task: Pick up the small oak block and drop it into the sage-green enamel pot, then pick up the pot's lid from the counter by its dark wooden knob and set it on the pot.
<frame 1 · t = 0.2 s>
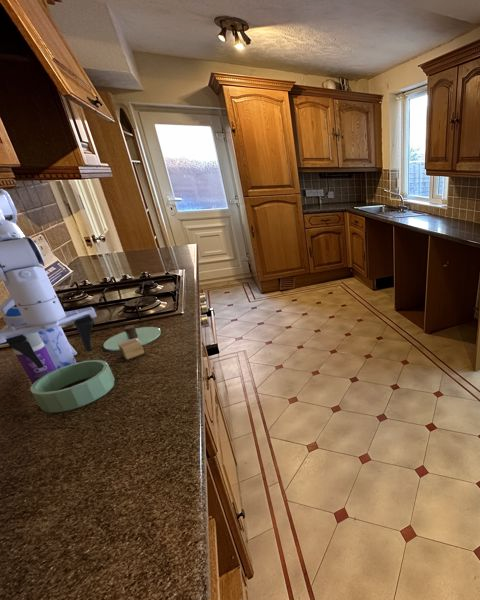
hand: (65, 357, 70), 10 cm above the worktop, tool pointing down, fingers open, 7 cm apart
aerosol can: (58, 371, 83), on the worktop
lid: (133, 338, 96), point 1 cm above the worktop
container: (50, 386, 77), on the worktop
block: (134, 355, 89), on the worktop
pot: (79, 393, 74), on the worktop
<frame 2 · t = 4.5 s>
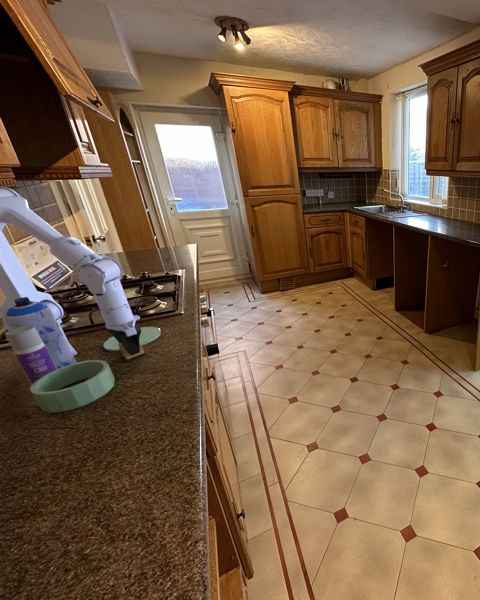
hand: (132, 351, 88), 1 cm above the worktop, tool pointing down, fingers closed on block, 4 cm apart
aerosol can: (58, 370, 83), on the worktop, touching arm
block: (133, 355, 89), on the worktop, touching gripper
everything else where it was.
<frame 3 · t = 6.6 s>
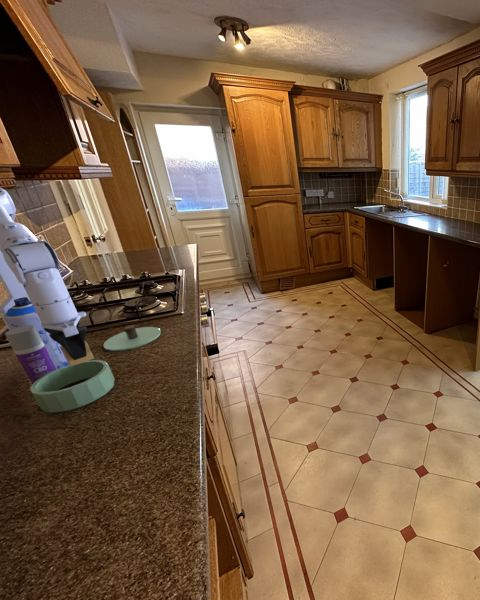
hand: (77, 354, 74), 8 cm above the worktop, tool pointing down, fingers closed on block, 4 cm apart
aerosol can: (58, 371, 83), on the worktop
block: (80, 359, 74), point 7 cm above the worktop, touching gripper
everything else where it was.
when the fingers open (2 cm above the worktop, at t = 9.0 s): block stays where it is, resting on pot.
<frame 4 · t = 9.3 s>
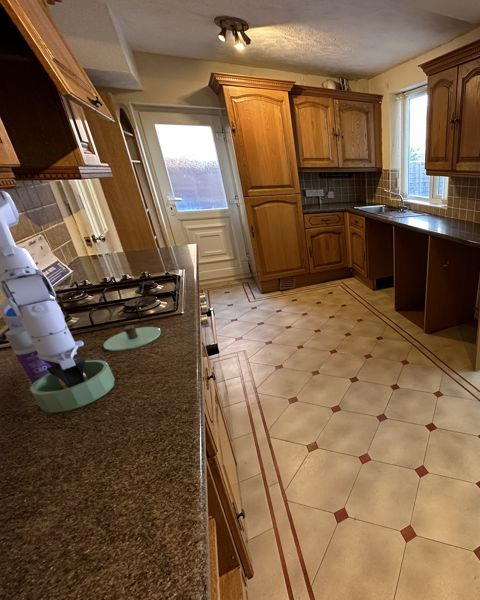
hand: (75, 383, 73), 3 cm above the worktop, tool pointing down, fingers open, 6 cm apart
block: (79, 391, 74), resting on pot
everything else where it was.
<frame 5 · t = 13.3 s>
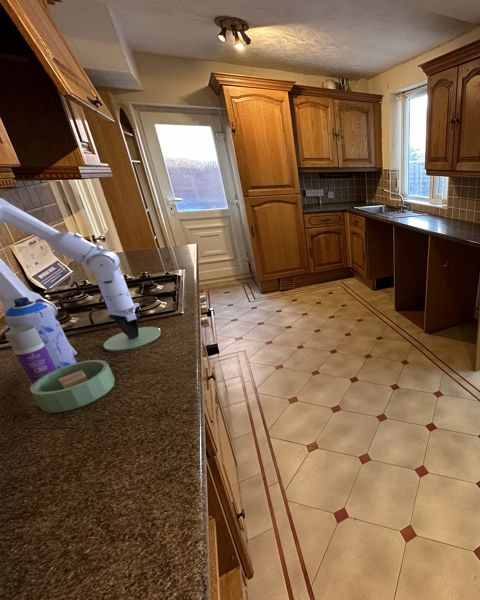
hand: (132, 335, 96), 2 cm above the worktop, tool pointing down, fingers closed on lid, 2 cm apart
lid: (133, 338, 96), point 1 cm above the worktop, touching gripper
everything else where it was.
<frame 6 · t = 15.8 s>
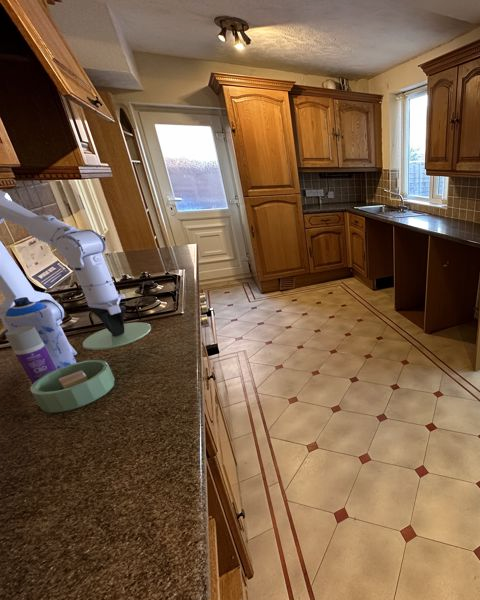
hand: (117, 332, 82), 9 cm above the worktop, tool pointing down, fingers closed on lid, 2 cm apart
lid: (118, 335, 83), point 8 cm above the worktop, touching gripper
everything else where it was.
when the fingers open (6 cm above the worktop, at t = 18.2 s): lid stays where it is, resting on block.
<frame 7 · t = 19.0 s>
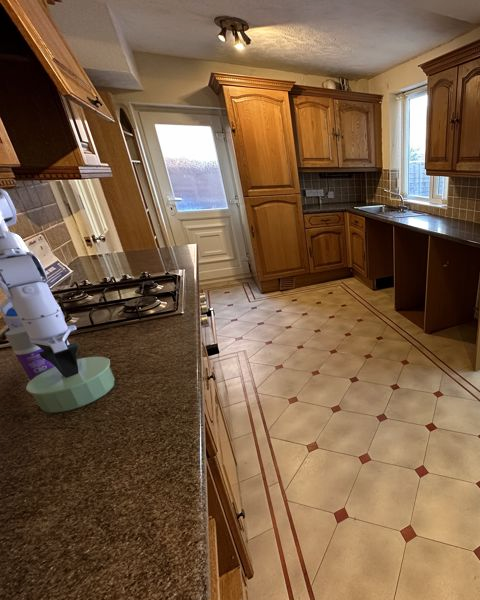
hand: (67, 369, 71), 7 cm above the worktop, tool pointing down, fingers open, 7 cm apart
lid: (71, 375, 72), point 5 cm above the worktop, touching block
block: (79, 391, 74), resting on pot, touching lid
everything else where it was.
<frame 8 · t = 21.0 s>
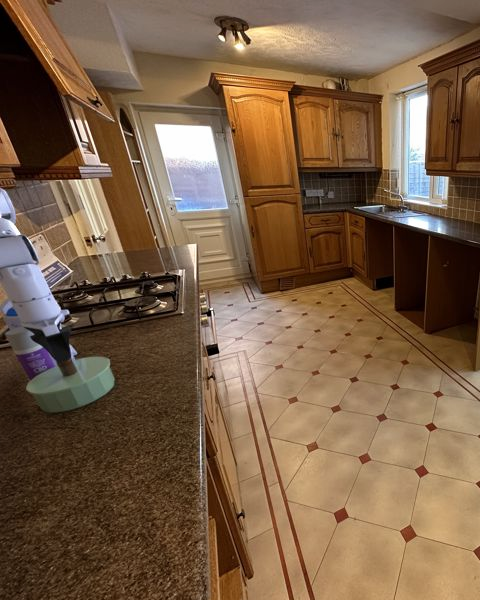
hand: (60, 354, 70), 10 cm above the worktop, tool pointing down, fingers open, 7 cm apart
nothing on the worktop moved.
at the end: block inside the target area in the pot (0.0 cm from its centre), point 0.4 cm above the pot's base; lid 0.1 cm off-centre on the pot, point 5.0 cm above the pot's base; lid tilted 0° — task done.
